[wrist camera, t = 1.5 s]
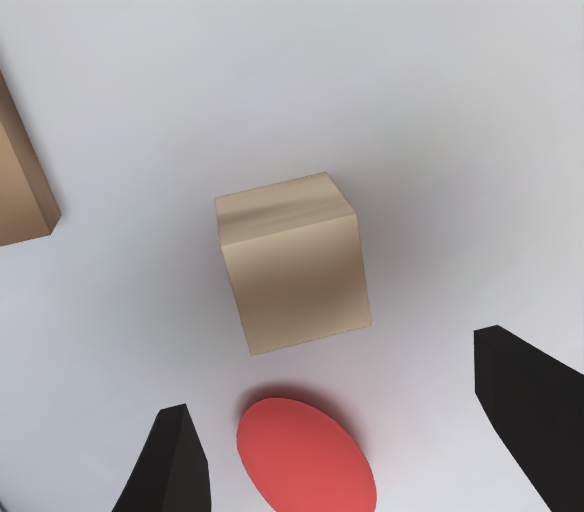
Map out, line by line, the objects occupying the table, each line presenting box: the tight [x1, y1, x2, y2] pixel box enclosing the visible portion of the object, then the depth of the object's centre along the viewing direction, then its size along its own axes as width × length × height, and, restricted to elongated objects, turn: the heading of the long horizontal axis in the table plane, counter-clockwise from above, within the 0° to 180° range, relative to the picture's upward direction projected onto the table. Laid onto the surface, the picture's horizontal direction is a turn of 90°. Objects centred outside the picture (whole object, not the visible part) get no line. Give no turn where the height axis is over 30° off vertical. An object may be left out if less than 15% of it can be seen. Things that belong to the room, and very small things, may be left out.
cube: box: [215, 172, 371, 356], centre depth 20 cm, size 4×4×4 cm
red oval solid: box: [236, 398, 377, 512], centre depth 26 cm, size 5×9×6 cm, turn 16°
